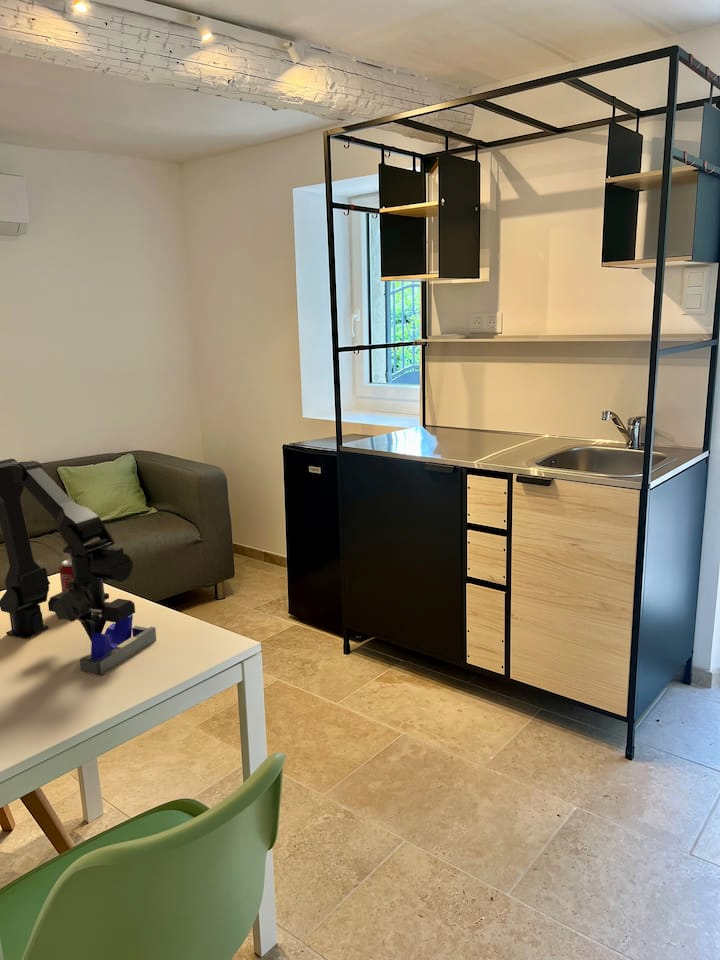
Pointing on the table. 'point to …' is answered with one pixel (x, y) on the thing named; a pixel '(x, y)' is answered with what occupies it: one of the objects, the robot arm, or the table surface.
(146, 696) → the table surface
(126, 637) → the cable clip
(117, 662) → the stop bracket
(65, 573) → the soda can
